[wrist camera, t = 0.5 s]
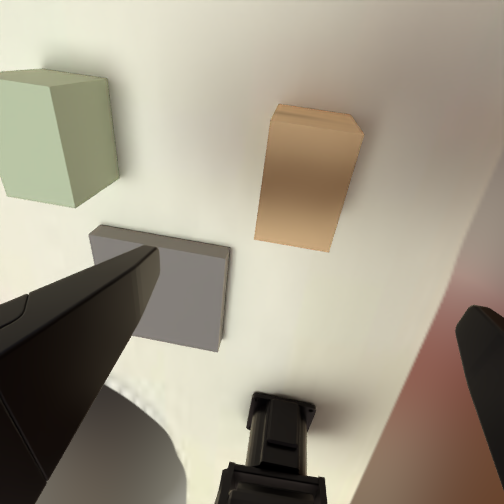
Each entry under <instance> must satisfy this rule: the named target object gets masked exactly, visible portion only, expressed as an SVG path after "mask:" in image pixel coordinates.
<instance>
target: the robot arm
mask: <svg viewBox="0 0 504 504" xmlns="http://www.w3.org/2000/svg"><path fill="white" fill-rule="evenodd" d="M159 275H160V252H159V249H158V247H155V246H150V245H142V246H140V247H137V248H135V249H133V250H130V251H128V252H126V253H123V254H121V255H118V256H116V257H114V258H111V259H109V260H106V261H104V262H102V263H99V264H97V265H94V266H92V267H90V268H87V269H85V270H82V271H80V272H78V273H75V274H73V275H70V276H68V277H66V278H63V279H61V280H58V281H56V282H54V283H51V284H49V285H46V286H44V287H42V288H39V289H37V290H34V291H32V292H30V293H29V295H28V294H25V295H22V296H20V297H18V298H15V299H13V300H10V301H8V302H5V303H3V304H0V504H35V503H36V501H37V500H38V497H39V496H40V494H41V493H42V491H43V489H44V487H45V486H46V483H47V482H46V481H48V480H49V478H50V477H51V475H52V473H53V471H54V469H55V468H56V466H57V464H58V463H59V461H60V459H61V457H62V456H63V454H64V452H65V450H66V449H67V447H68V445H69V444H70V442H71V440H72V438H73V436H74V434H75V433H76V431H77V429H78V428H79V426H80V424H81V423H82V421H83V419H84V417H85V416H86V414H87V412H88V410H89V408H90V407H91V405H92V404H93V402H94V400H95V398H96V397H97V395H98V393H99V391H100V390H101V388H102V386H103V384H104V383H105V381H106V379H107V378H108V376H109V374H110V372H111V371H112V369H113V367H114V365H115V364H116V362H117V360H118V358H119V357H120V355H121V353H122V351H123V350H124V348H125V346H126V345H127V343H128V341H129V339H130V338H131V336H132V334H133V332H134V331H135V329H136V327H137V325H138V324H139V322H140V320H141V318H142V316H143V313H144V311H145V309H146V306H147V304H148V302H149V299H150V297H151V295H152V292H153V290H154V288H155V285H156V283H157V281H158V278H159ZM455 332H456V338H457V342H458V347H459V351H460V356H461V360H462V365H463V369H464V373H465V377H466V381H467V384H468V388H469V391H470V394H471V397H472V400H473V403H474V405H475V409H476V412H477V414H478V417H479V420H480V423H481V426H482V429H483V432H484V435H485V438H486V441H487V443H488V446H489V449H490V452H491V455H492V458H493V461H494V464H495V467H496V469H497V472H498V475H499V478H500V481H501V484H502V487H503V490H504V317H502V316H501V315H499V314H497V313H496V312H495V311H493V310H492V309H490V308H488V307H483V306H477V305H473V306H470V307H469V308H468V309H467V311H466V312H465V314H464V315H463V317H462V318H461V320H460V321H459V322H458V324H457V326H456V330H455ZM315 412H316V407H315V405H313V404H308V403H303V402H298V401H293V400H288V399H283V398H279V397H274V396H269V395H264V394H259V393H254V394H253V396H252V401H251V406H250V411H249V416H248V421H247V426H246V428H247V429H248V430H250V437H249V444H248V451H247V458H246V465H239V464H235V463H234V462H229V466H228V469H224V470H223V471H222V476H221V482H220V486H219V491H218V494H217V497H216V501H215V504H327V496H326V486H325V478H324V477H319V476H318V478H317V477H311V476H307V432H308V429H309V427H310V424H311V422H312V420H313V417H314V415H315Z"/></svg>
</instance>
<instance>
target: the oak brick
mask: <svg viewBox="0 0 504 504" xmlns="http://www.w3.org/2000/svg"><path fill="white" fill-rule="evenodd" d="M363 137H364V134H363V132H362V131H361V129H360V128H359V126H358V125H357V123H356V122H355V121H354V119H353V118H352V116H351V115H349V114H343V113H336V112H329V111H323V110H316V109H309V108H302V107H296V106H289V105H282V104H278V106H277V108H276V110H275V112H274V114H273V116H272V118H271V120H270V128H269V135H268V142H267V149H266V156H265V164H264V171H263V178H262V185H261V192H260V200H259V207H258V214H257V221H256V229H255V236H254V240H260V241H266V242H271V243H277V244H283V245H289V246H294V247H300V248H306V249H312V250H317V251H323V252H329V250H330V247H331V244H332V240H333V237H334V234H335V230H336V227H337V224H338V220H339V217H340V214H341V210H342V207H343V204H344V200H345V197H346V194H347V190H348V187H349V184H350V180H351V177H352V174H353V171H354V167H355V164H356V161H357V157H358V154H359V151H360V147H361V144H362V141H363Z"/></svg>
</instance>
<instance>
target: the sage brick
mask: <svg viewBox="0 0 504 504" xmlns="http://www.w3.org/2000/svg"><path fill="white" fill-rule="evenodd" d="M0 177H1V180H2V183H3V185H4V188H5V191H6V194H7V197H13V198H19V199H25V200H30V201H36V202H42V203H48V204H53V205H59V206H65V207H71V208H77V207H78V206H80V205H81V204H82V203H84V202H85V201H87V200H88V199H90V198H91V197H93V196H94V195H96V194H97V193H98V192H100V191H101V190H103V189H104V188H106V187H107V186H109V185H110V184H112V183H113V182H114V181H116V180H117V179H119V170H118V162H117V154H116V146H115V138H114V129H113V121H112V113H111V105H110V97H109V89H108V81H107V78H101V77H94V76H87V75H80V74H74V73H67V72H60V71H54V70H47V69H30V70H16V71H2V72H0Z"/></svg>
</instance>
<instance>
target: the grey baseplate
mask: <svg viewBox="0 0 504 504" xmlns="http://www.w3.org/2000/svg"><path fill="white" fill-rule="evenodd" d="M89 239H90V244H91V249H92V254H93V259H94V264H95V265H97V264H99V263H102V262H104V261H106V260H109V259H111V258H114V257H116V256H118V255H121V254H123V253H126V252H128V251H130V250H133V249H135V248H137V247H140V246H142V245H150V246H155V247H158V249H159V252H160V275H159V278H158V281H157V283H156V285H155V288H154V290H153V292H152V295H151V297H150V299H149V302H148V304H147V306H146V309H145V311H144V313H143V316H142V318H141V320H140V322H139V324H138V325H137V327H136V329H135V331H134V332H133V334H132V336H137V337H142V338H147V339H152V340H157V341H162V342H167V343H172V344H177V345H183V346H188V347H193V348H198V349H203V350H208V351H213V352H218V350H219V347H220V343H221V340H222V330H223V318H224V307H225V296H226V285H227V274H228V263H229V252H230V248H229V247H223V246H218V245H212V244H206V243H201V242H195V241H189V240H184V239H178V238H172V237H167V236H161V235H155V234H150V233H144V232H138V231H133V230H127V229H121V228H116V227H110V226H104V225H99V226H98V227H97V228H96V229H94V230H93V231H92V232H91V233H90V234H89Z"/></svg>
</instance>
